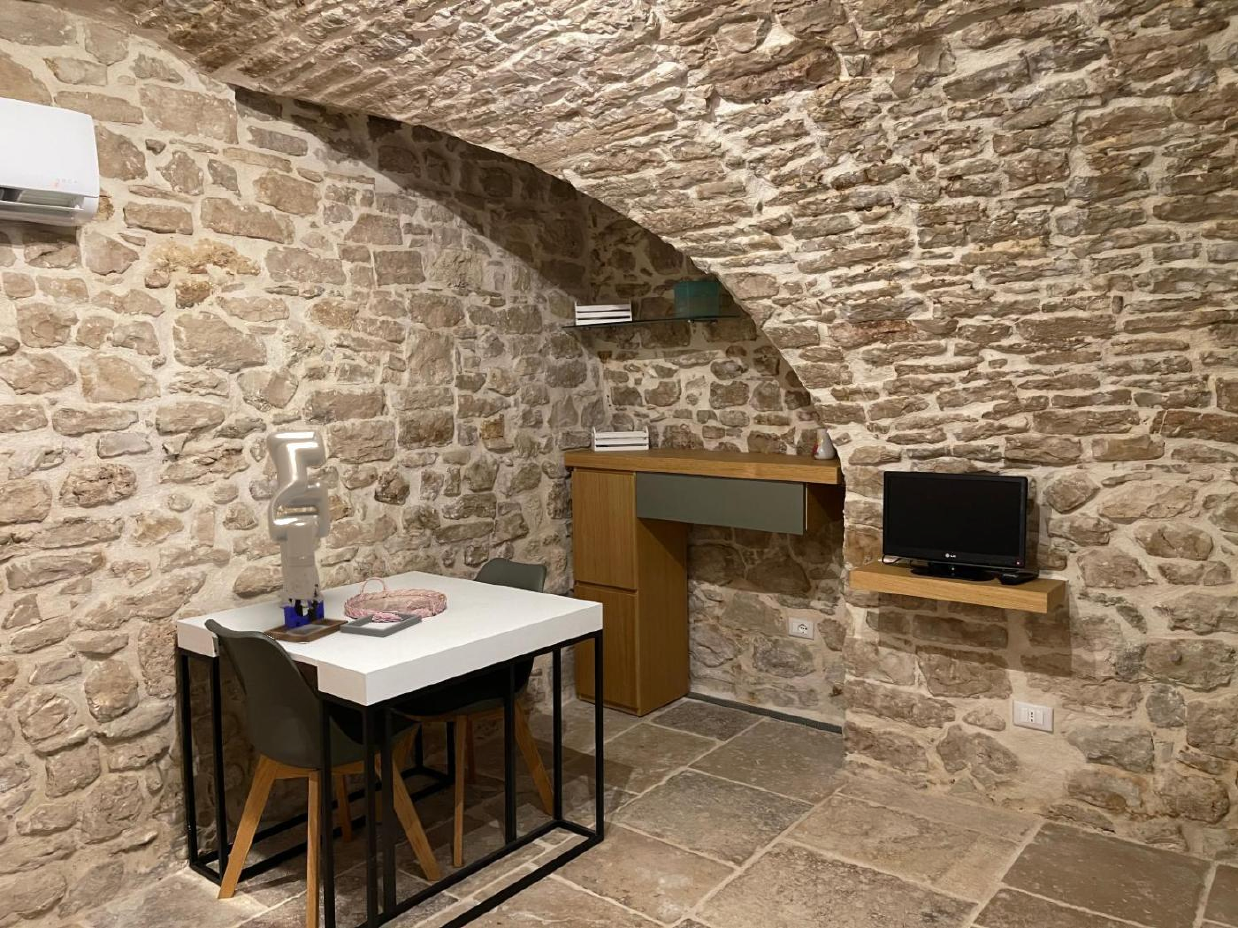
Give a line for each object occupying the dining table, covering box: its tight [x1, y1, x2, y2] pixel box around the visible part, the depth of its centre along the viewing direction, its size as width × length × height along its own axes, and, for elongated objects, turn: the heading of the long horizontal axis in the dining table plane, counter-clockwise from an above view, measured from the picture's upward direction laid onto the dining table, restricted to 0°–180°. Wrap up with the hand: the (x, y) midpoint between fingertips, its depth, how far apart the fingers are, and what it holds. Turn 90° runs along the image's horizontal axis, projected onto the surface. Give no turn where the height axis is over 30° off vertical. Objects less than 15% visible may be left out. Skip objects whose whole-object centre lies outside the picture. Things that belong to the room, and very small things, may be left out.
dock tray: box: [340, 610, 423, 638], centre depth 293 cm, size 16×18×2 cm
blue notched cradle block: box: [283, 597, 325, 630], centre depth 289 cm, size 12×4×6 cm, turn 144°
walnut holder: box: [262, 617, 349, 643], centre depth 289 cm, size 16×18×2 cm
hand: (305, 619), depth 290 cm, fingers closed on blue notched cradle block, 4 cm apart
